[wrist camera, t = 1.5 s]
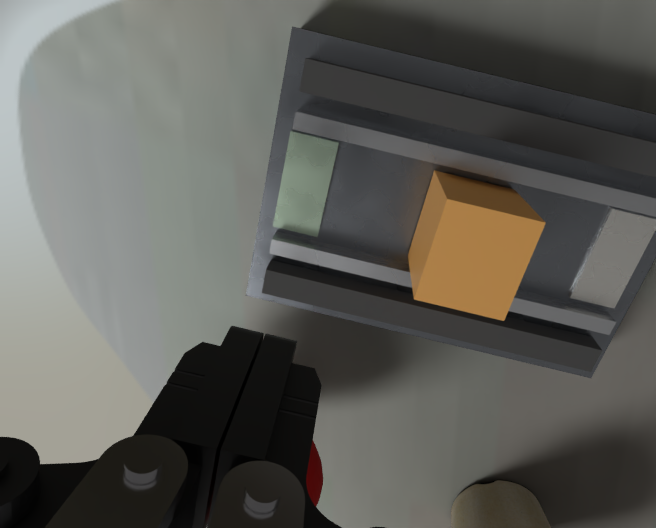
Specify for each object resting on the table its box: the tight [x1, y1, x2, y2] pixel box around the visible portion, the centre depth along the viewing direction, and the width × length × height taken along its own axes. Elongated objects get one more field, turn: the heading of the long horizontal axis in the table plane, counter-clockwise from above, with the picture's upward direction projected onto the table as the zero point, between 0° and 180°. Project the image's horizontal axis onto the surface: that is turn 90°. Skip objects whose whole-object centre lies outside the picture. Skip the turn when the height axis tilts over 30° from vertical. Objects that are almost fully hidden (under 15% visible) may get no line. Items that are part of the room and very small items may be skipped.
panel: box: [246, 27, 656, 378], centre depth 26 cm, size 20×14×4 cm
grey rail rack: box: [262, 58, 656, 372], centre depth 25 cm, size 18×12×1 cm, turn 78°
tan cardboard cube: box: [408, 170, 546, 321], centre depth 23 cm, size 4×5×5 cm
